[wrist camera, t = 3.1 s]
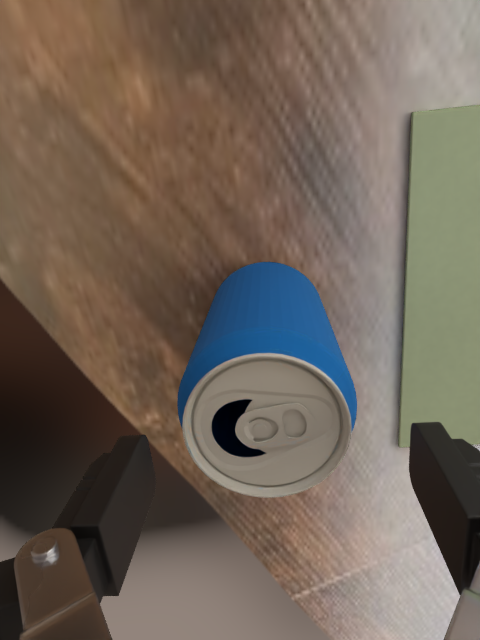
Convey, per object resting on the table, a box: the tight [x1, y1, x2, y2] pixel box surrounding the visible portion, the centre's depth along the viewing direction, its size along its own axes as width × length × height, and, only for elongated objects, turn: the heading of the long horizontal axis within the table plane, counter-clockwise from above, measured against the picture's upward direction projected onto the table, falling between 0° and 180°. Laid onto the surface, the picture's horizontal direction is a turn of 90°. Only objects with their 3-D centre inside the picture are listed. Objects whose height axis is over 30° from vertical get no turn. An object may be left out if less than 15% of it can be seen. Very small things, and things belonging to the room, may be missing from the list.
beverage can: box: [178, 262, 357, 498], centre depth 20 cm, size 6×6×12 cm
